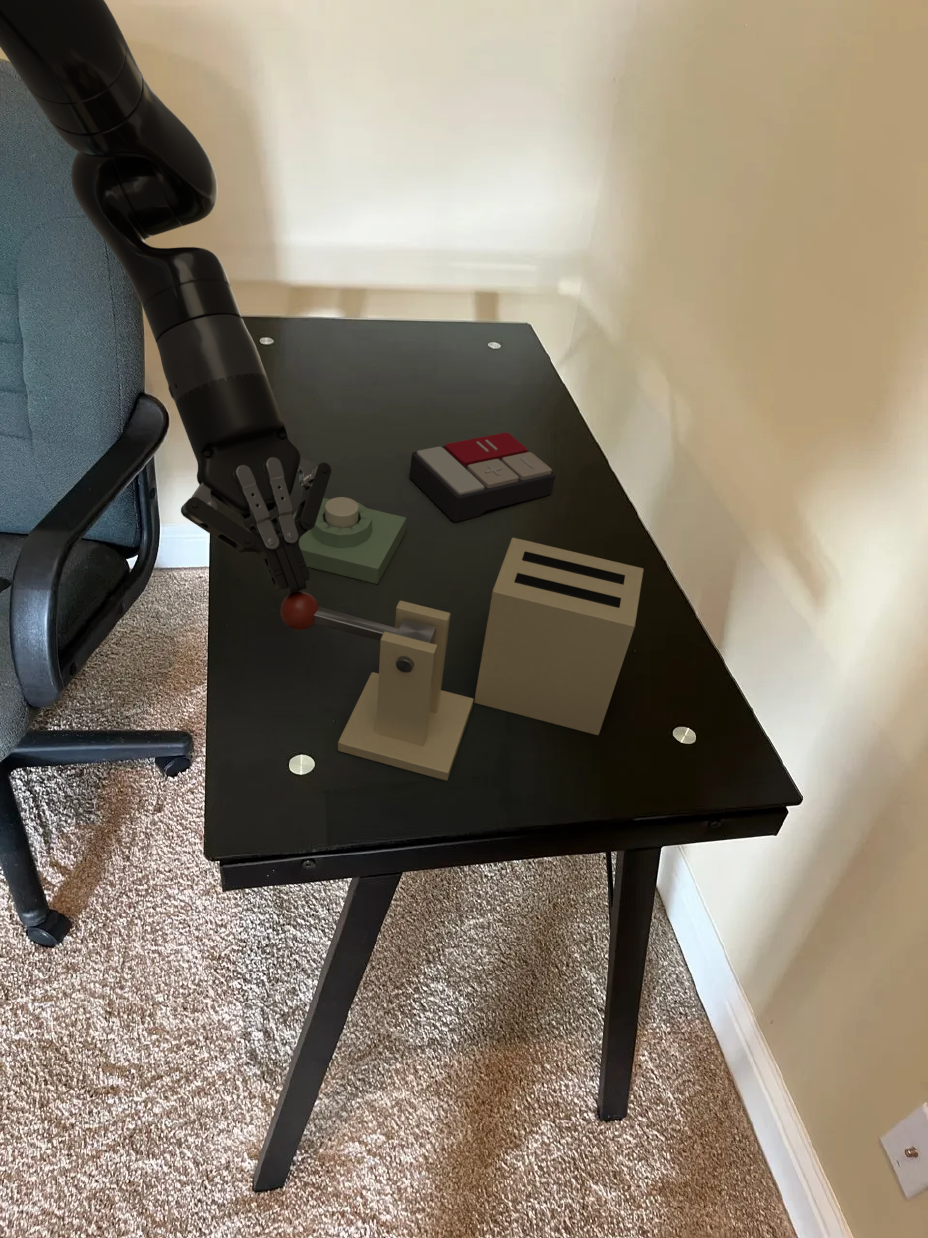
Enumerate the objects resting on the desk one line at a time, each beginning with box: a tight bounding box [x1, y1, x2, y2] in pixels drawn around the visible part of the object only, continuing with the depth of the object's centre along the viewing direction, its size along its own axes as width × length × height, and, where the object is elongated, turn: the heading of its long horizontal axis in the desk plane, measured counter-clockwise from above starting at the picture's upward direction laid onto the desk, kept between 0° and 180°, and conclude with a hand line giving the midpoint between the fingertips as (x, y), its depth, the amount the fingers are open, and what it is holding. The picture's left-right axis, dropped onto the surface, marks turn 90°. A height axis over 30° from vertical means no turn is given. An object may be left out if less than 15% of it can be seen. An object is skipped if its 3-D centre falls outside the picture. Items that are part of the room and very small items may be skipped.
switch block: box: [293, 497, 407, 585], centre depth 92 cm, size 12×10×4 cm
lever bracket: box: [337, 600, 475, 782], centre depth 71 cm, size 10×9×13 cm
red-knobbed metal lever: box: [279, 591, 436, 644], centre depth 68 cm, size 13×3×3 cm, turn 76°
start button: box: [325, 496, 358, 528], centre depth 90 cm, size 4×4×2 cm
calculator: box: [408, 432, 557, 523], centre depth 104 cm, size 11×4×15 cm
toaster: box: [473, 537, 644, 736], centre depth 75 cm, size 12×8×14 cm, turn 76°
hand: (295, 591), depth 68 cm, fingers closed
